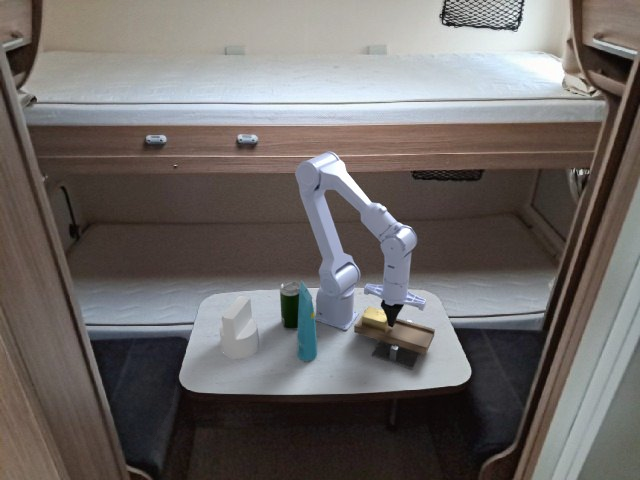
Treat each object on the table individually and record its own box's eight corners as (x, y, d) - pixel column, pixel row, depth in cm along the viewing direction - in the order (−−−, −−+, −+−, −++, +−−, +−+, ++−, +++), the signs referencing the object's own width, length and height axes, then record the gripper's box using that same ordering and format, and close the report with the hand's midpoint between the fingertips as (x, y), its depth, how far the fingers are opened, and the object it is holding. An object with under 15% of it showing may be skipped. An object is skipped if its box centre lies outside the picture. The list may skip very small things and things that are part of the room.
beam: (353, 335, 116) (353, 327, 115) (366, 316, 122) (366, 308, 121) (424, 358, 108) (425, 349, 107) (434, 336, 115) (435, 327, 114)
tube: (322, 361, 111) (322, 294, 102) (304, 367, 109) (302, 300, 100) (309, 342, 117) (308, 277, 108) (291, 347, 115) (289, 282, 106)
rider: (361, 325, 116) (361, 316, 114) (368, 315, 119) (368, 306, 118) (384, 332, 113) (385, 322, 112) (390, 322, 117) (391, 312, 115)
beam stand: (371, 356, 113) (372, 343, 111) (390, 324, 123) (391, 313, 121) (412, 369, 109) (413, 357, 107) (427, 336, 119) (429, 324, 117)
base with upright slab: (233, 330, 121) (228, 292, 115) (265, 338, 118) (262, 299, 112) (215, 354, 113) (209, 314, 108) (248, 362, 111) (244, 322, 105)
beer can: (288, 333, 120) (286, 295, 114) (277, 322, 124) (275, 284, 118) (306, 326, 122) (305, 288, 117) (295, 315, 126) (294, 278, 121)
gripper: (359, 278, 107) (357, 325, 114) (422, 295, 101) (415, 343, 108) (371, 263, 113) (368, 309, 119) (431, 278, 107) (424, 325, 114)
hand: (391, 324), depth 114 cm, fingers closed
